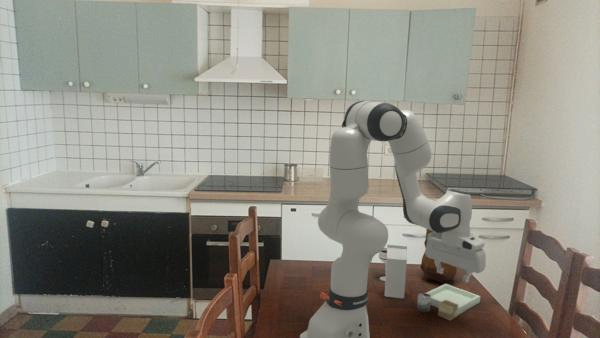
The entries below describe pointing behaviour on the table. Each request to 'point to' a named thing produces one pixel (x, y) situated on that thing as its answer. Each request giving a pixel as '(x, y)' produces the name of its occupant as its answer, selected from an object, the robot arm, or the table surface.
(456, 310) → the beech block
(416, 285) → the table surface
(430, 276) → the butternut squash
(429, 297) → the grey rounded cylinder
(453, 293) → the tray
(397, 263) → the milk carton
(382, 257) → the wineglass
